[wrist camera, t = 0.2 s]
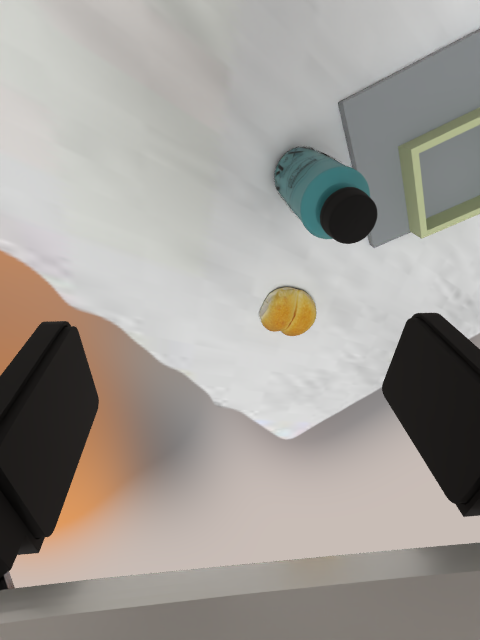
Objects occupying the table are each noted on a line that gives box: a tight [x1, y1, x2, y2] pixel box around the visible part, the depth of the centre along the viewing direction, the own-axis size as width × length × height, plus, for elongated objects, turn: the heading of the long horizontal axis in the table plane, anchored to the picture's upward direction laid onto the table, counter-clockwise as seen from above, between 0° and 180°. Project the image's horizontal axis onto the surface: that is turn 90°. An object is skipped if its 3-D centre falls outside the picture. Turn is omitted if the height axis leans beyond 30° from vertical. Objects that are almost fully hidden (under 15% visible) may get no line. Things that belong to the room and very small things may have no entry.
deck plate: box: [338, 29, 480, 248], centre depth 39 cm, size 19×18×4 cm
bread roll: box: [259, 287, 316, 336], centre depth 51 cm, size 8×9×4 cm
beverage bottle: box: [275, 146, 377, 244], centre depth 33 cm, size 6×7×20 cm
